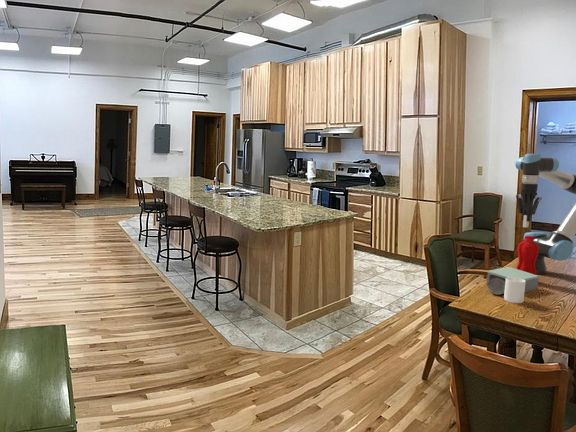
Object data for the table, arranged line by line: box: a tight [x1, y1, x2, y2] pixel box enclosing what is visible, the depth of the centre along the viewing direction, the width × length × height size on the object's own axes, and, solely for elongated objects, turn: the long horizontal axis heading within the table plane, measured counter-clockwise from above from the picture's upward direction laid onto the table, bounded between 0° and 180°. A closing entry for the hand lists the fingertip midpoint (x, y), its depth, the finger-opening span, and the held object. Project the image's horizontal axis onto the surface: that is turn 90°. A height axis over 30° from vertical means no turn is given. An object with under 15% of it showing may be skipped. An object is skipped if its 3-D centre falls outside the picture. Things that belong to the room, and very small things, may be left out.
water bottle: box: [515, 236, 539, 275], centre depth 241 cm, size 9×11×25 cm
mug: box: [487, 278, 505, 295], centre depth 220 cm, size 10×8×10 cm
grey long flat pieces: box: [485, 273, 539, 293], centre depth 230 cm, size 18×16×6 cm
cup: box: [503, 277, 526, 304], centre depth 211 cm, size 8×12×10 cm
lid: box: [487, 266, 539, 281], centre depth 229 cm, size 18×16×1 cm
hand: (525, 227), depth 239 cm, fingers closed
